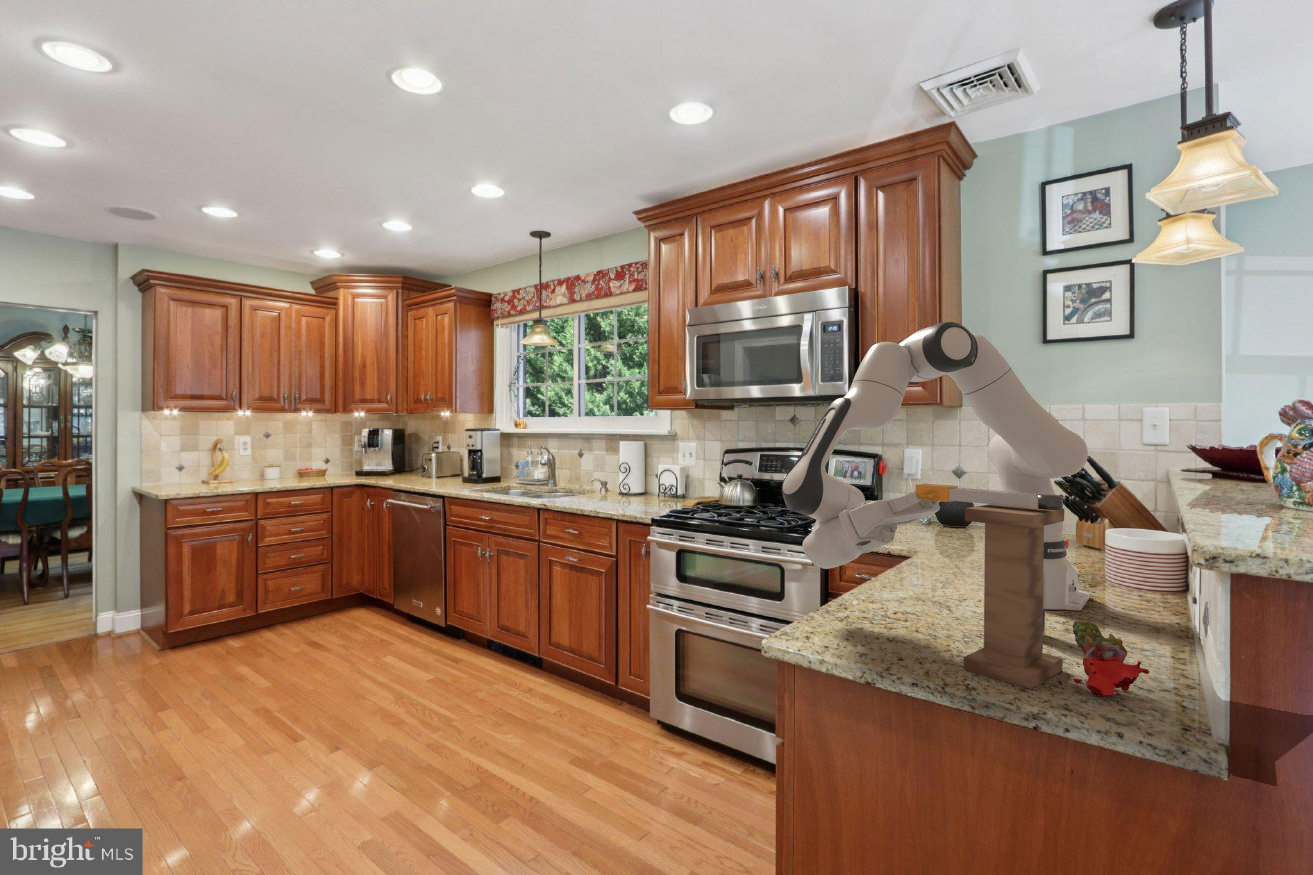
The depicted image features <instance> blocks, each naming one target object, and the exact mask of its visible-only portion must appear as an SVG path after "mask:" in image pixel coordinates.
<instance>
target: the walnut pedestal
mask: <svg viewBox="0 0 1313 875" xmlns="http://www.w3.org/2000/svg"><path fill="white" fill-rule="evenodd" d="M964 521H965V522H973V523H982V524H984V573H983V574H984V577H983V579H984V580H983V582H984V583H983V584H984V588H983V590H984V591H983V592H984V594H983V595H984V596H983V602H984V604H983V648H980V649H978V650H976V651H974V652H971V653H969V654H967V655H965V656H963V670H964V669H965V671H967V672H968V671H969V672H970V673H971V672H972V673H975V674H978V675H981V676H984V677H986V678H987V677H988V678H991V679H995V680H998V681H1002V682H1004V683H1008V684H1011V685H1014V686H1018V687H1020V688H1021V687H1022V688H1023V689H1024V688H1025V689H1028V690H1033V689H1035V687H1038V686H1039V685H1041V684H1042V683H1044V682H1047V680H1049V679H1051V678H1052V677H1055V675H1058V674H1059V673H1061V672H1062V671H1063V657H1060V656H1055V655H1053V654H1048V653H1045V652H1043V646H1044V645H1043V644H1044V643H1043V642H1044V641H1043V639H1044V636H1043V565H1044V526H1046V525H1050V524H1055V523H1059V522H1063V523H1064V522H1065V508H1063V510H1044V509H1036V508H1025V507H1015V506H1004V505H993V504H984V505H982V504H981V505H977V506H971V507H965V509H964Z"/></svg>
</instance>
